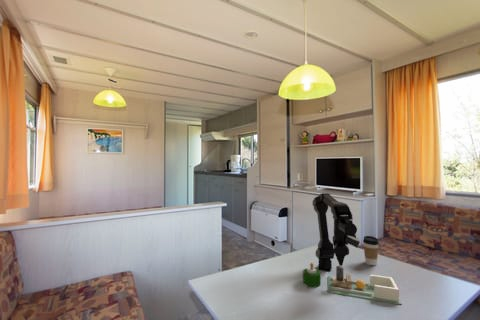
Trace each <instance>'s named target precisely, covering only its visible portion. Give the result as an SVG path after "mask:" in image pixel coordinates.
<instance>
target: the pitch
mask: <svg viewBox="0 0 480 320" xmlns="http://www.w3.org/2000/svg"><path fill="white" fill-rule="evenodd" d="M333 277H334V276H327V283H328V284H327V286H328V287H327V289H328V290H327V291H328V293H330V294H334V295H335V294H337V295H342V296H348V297H352V298H353V297H354V298H359V299H364V300H365V299H366V300H372V301H375V302H376V301H377V302H383V303H388V304H393V305H394V304H395V305H400V306H402V302H401V300H400V289H399V288H398V286H397V284H396V282H395V281H394V279H393V277H392V276H384V275H383V276H382V275H377V274H370V275H369V282H365V281H363V282H364V283H365V288H364V289H359V288H357V286H356V281H357V280H353V279H351V280H352V290H351V289H347V288H345V287H339V286H333Z"/></svg>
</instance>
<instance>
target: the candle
mask: <svg viewBox="0 0 480 320" xmlns="http://www.w3.org/2000/svg"><path fill="white" fill-rule="evenodd" d="M309 265H310V266H309V267H307V268H304V269H303V271H302V272H303V273H302V275H303V276H302V278H303V279H302V282H303V284H304V285H305V286H307V287H309V288H318V287H320V286H321V277H322V275H321V270H319V269H316V268H314V263H313V262H310V264H309Z"/></svg>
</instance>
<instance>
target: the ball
mask: <svg viewBox="0 0 480 320" xmlns="http://www.w3.org/2000/svg"><path fill="white" fill-rule="evenodd" d="M355 281H356V286H357V288H359V289H364V288H365V283H364V282H365V281H364V280H362V279H357V280H355Z"/></svg>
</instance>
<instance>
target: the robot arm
mask: <svg viewBox="0 0 480 320" xmlns="http://www.w3.org/2000/svg"><path fill="white" fill-rule="evenodd" d="M312 207H313V210H314V211H315V213H316V215H317V221H318V223H317V225H318V232H319V233H318V234H319V242H318V244H317V248H316V251H315V253H314V254H315V257H317V259H318V268H317V270H318V271H326V272H331V271H332V266H333V265H332V261H333V260H332V259H335V258H336V260H337V262H338V264H339V265H338V266H342V267H343V266H344V265H343V264H344V261H345V257H346V256H348V255H350V249H349V247H348V246H349V245H351V246H353V247H355V248H359V245H360V243H361V240H360V239H359V238H358V237H357V235H356V233H357V232H358V228H357V226H356V224H354V222H353V219H354V218H353V213H352V212H351V209H350V207H349V205H348V204H347V203H345V202H343V201H342V202H341V201H338V200H337V199H335V198H334V197H333V196H332V195H331V193H328V192H326V193H325V192H323V193H320V194H319V195H317V196H315V197H314V198H313V200H312ZM329 208H330V212H331V214H332V218H333V236H332V241H331V240H330V238H329V237H330V235H329V229H328V219H327V212H328V210H329Z"/></svg>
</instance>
